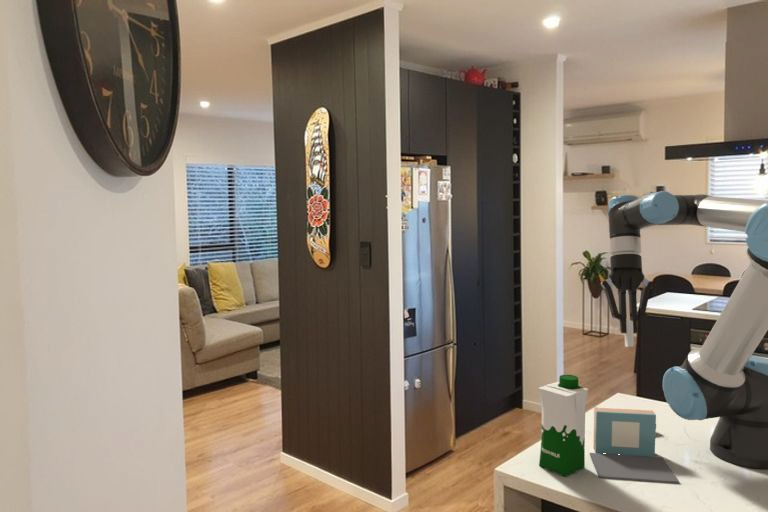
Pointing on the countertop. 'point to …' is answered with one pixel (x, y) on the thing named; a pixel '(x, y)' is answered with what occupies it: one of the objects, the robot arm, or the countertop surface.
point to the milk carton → (563, 426)
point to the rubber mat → (633, 468)
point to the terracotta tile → (624, 431)
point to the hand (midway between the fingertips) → (629, 346)
